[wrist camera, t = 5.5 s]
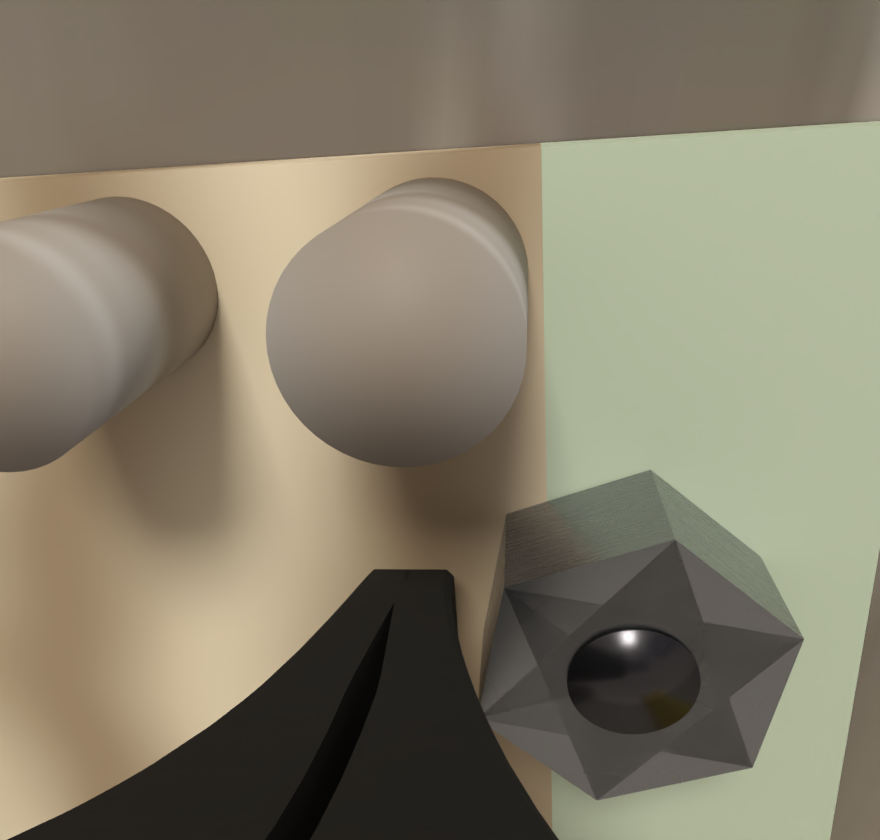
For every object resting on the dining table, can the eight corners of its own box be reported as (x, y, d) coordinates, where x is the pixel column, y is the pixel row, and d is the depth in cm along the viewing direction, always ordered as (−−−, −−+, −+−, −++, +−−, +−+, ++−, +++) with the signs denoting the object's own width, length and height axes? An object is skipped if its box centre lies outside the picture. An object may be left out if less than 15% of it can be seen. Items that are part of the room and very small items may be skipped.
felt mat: (923, 118, 10) (952, 119, 9) (805, 869, 15) (818, 906, 15) (539, 142, 11) (540, 145, 10) (552, 856, 16) (553, 891, 15)
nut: (728, 446, 11) (770, 515, 10) (789, 655, 13) (837, 753, 11) (438, 534, 12) (423, 613, 11) (523, 720, 14) (524, 819, 12)
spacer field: (539, 142, 11) (545, 169, 7) (552, 856, 16) (559, 1103, 12) (-435, 206, 13) (-867, 254, 9) (-140, 822, 18) (-327, 1024, 14)
